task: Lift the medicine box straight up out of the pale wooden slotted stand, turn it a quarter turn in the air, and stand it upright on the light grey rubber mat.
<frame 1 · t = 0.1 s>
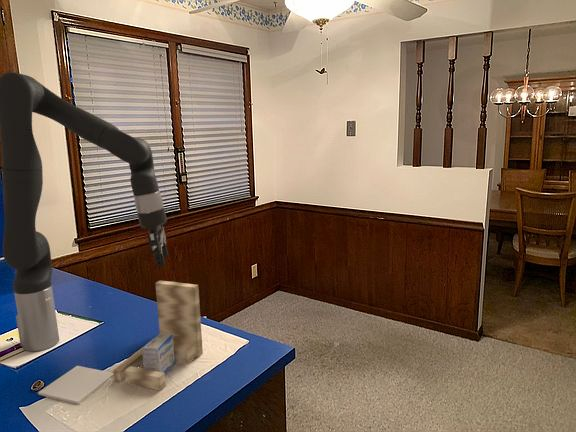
hand: (163, 261, 127), 22 cm above the kitchen counter, tool pointing down, fingers open, 8 cm apart
grey mat: (78, 384, 106), on the kitchen counter
slotted stand: (160, 371, 111), on the kitchen counter
beer can: (173, 335, 130), on the kitchen counter
medicine box: (160, 372, 111), on the kitchen counter
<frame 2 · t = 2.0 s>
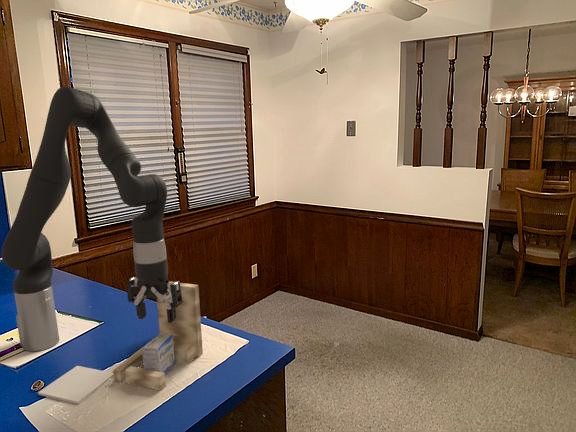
hand: (156, 319, 108), 14 cm above the kitchen counter, tool pointing down, fingers open, 8 cm apart
nothing on the kitchen counter moved.
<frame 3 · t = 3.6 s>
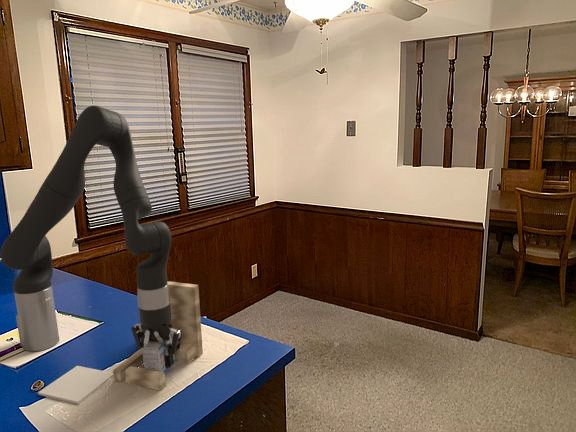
hand: (159, 364, 111), 2 cm above the kitchen counter, tool pointing down, fingers closed on medicine box, 4 cm apart
medicine box: (160, 372, 111), on the kitchen counter, touching gripper
everything else where it was.
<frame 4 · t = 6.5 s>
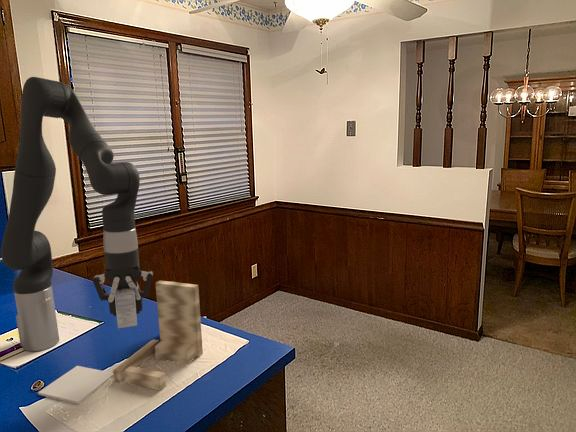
hand: (126, 313, 107), 17 cm above the kitchen counter, tool pointing down, fingers closed on medicine box, 4 cm apart
medicine box: (127, 321, 107), point 14 cm above the kitchen counter, touching gripper
everything else where it was.
when the fingers open (4 cm above the kitchen counter, at t = 9.7 s): medicine box drops 1 cm, resting on grey mat.
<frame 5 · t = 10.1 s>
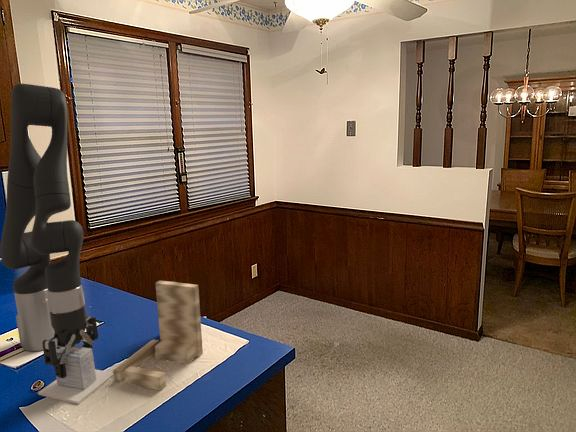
hand: (75, 367, 105), 5 cm above the kitchen counter, tool pointing down, fingers open, 8 cm apart
medicine box: (77, 383, 106), resting on grey mat
everything else where it was.
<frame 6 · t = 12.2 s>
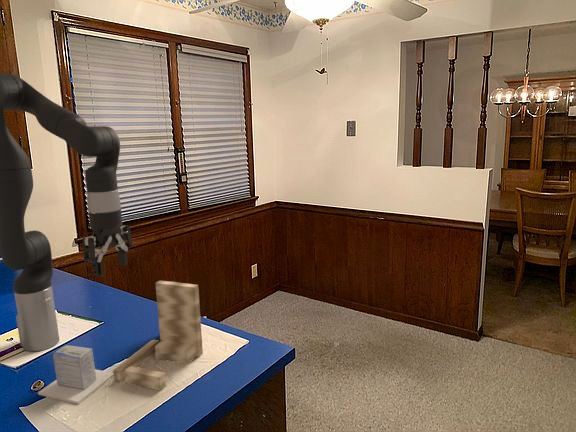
hand: (111, 270, 111), 26 cm above the kitchen counter, tool pointing down, fingers open, 8 cm apart
nothing on the kitchen counter moved.
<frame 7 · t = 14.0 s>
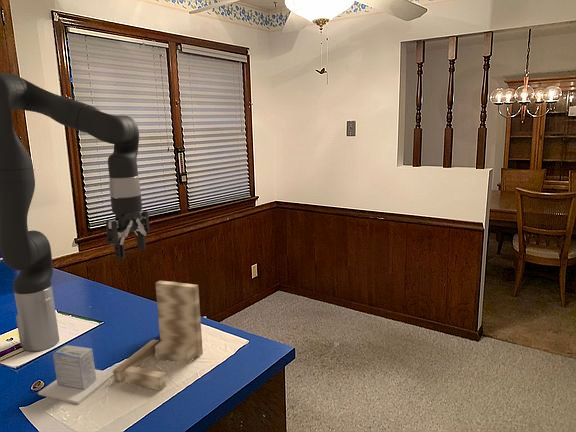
hand: (131, 253, 116), 28 cm above the kitchen counter, tool pointing down, fingers open, 8 cm apart
nothing on the kitchen counter moved.
at the end: medicine box inside the target area on the grey mat (0.2 cm from its centre), point 0.4 cm above the grey mat's base; medicine box tilted 0°; the gripper is holding nothing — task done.
